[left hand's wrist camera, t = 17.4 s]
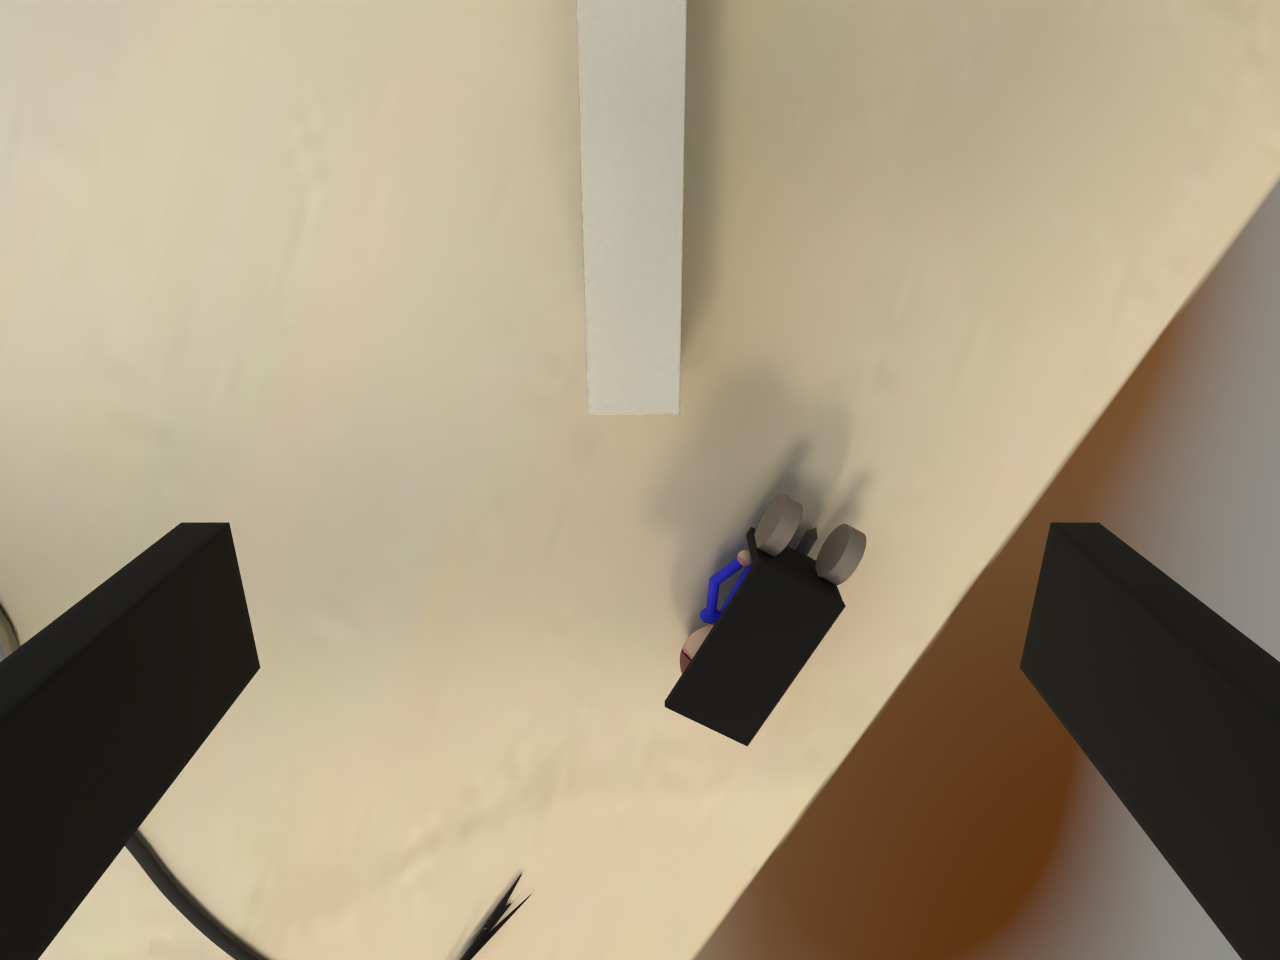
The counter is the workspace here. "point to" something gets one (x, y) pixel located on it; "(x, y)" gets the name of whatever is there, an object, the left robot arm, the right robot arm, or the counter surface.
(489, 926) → the feather
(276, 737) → the counter surface
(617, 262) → the post
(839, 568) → the black wheeled rover
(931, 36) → the counter surface
